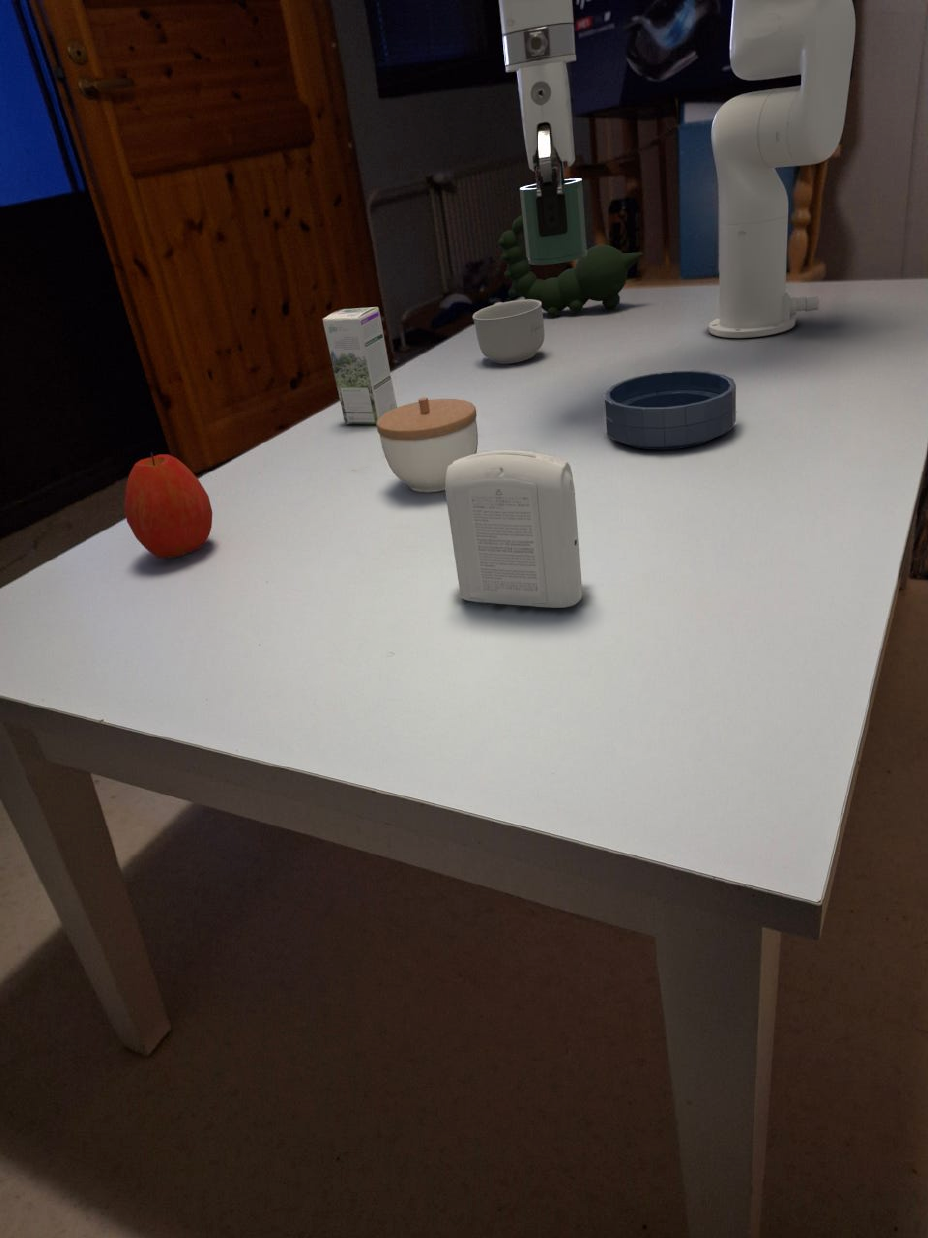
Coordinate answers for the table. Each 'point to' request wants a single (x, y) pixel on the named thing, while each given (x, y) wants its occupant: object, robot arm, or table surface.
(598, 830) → the table surface
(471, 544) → the photo printer
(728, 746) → the table surface
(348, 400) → the syrup box
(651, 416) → the blue bowl
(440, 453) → the trinket box
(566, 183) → the green cup
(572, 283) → the toy figurine
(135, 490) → the apple
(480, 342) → the teacup
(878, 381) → the table surface
